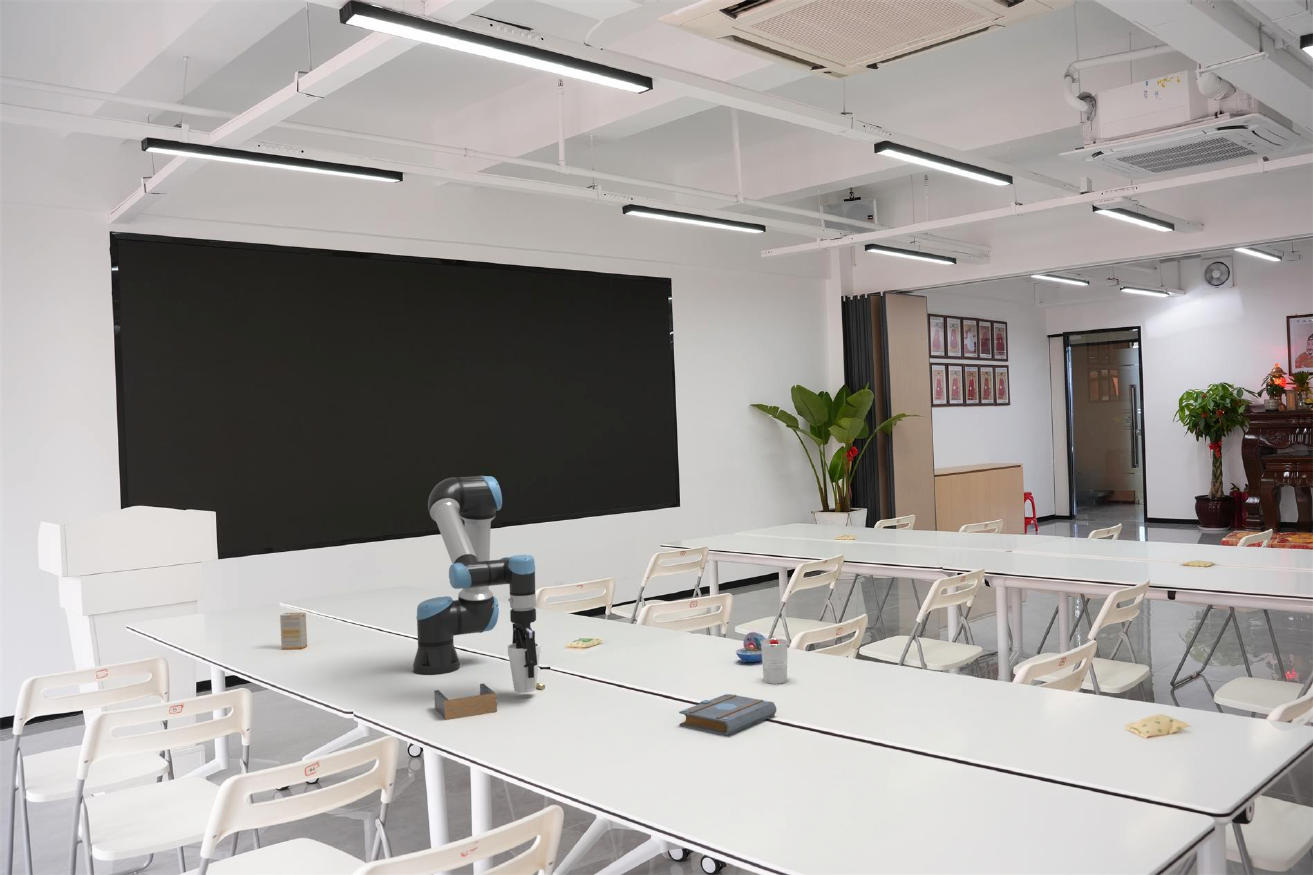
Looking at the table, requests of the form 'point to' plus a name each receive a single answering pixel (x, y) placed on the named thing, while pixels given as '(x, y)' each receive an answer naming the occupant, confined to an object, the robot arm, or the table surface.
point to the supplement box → (293, 630)
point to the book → (727, 714)
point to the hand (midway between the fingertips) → (524, 684)
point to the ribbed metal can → (774, 660)
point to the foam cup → (521, 667)
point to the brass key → (540, 686)
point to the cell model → (751, 648)
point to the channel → (466, 704)
